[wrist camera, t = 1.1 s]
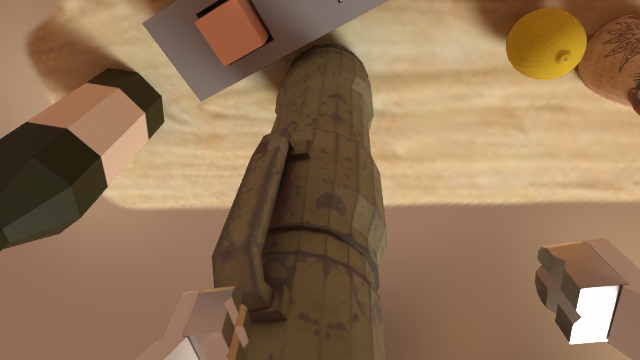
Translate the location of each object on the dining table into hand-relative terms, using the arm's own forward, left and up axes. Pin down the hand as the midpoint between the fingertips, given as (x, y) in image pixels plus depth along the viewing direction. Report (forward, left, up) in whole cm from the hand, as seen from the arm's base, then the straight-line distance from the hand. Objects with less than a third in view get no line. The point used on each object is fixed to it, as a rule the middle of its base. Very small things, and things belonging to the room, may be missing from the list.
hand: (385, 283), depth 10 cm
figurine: (-20, +14, -31) cm, 40 cm away
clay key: (+9, -5, -28) cm, 30 cm away
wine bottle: (+27, -4, -31) cm, 41 cm away
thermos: (+6, +5, -31) cm, 32 cm away
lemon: (-13, +8, -31) cm, 35 cm away
